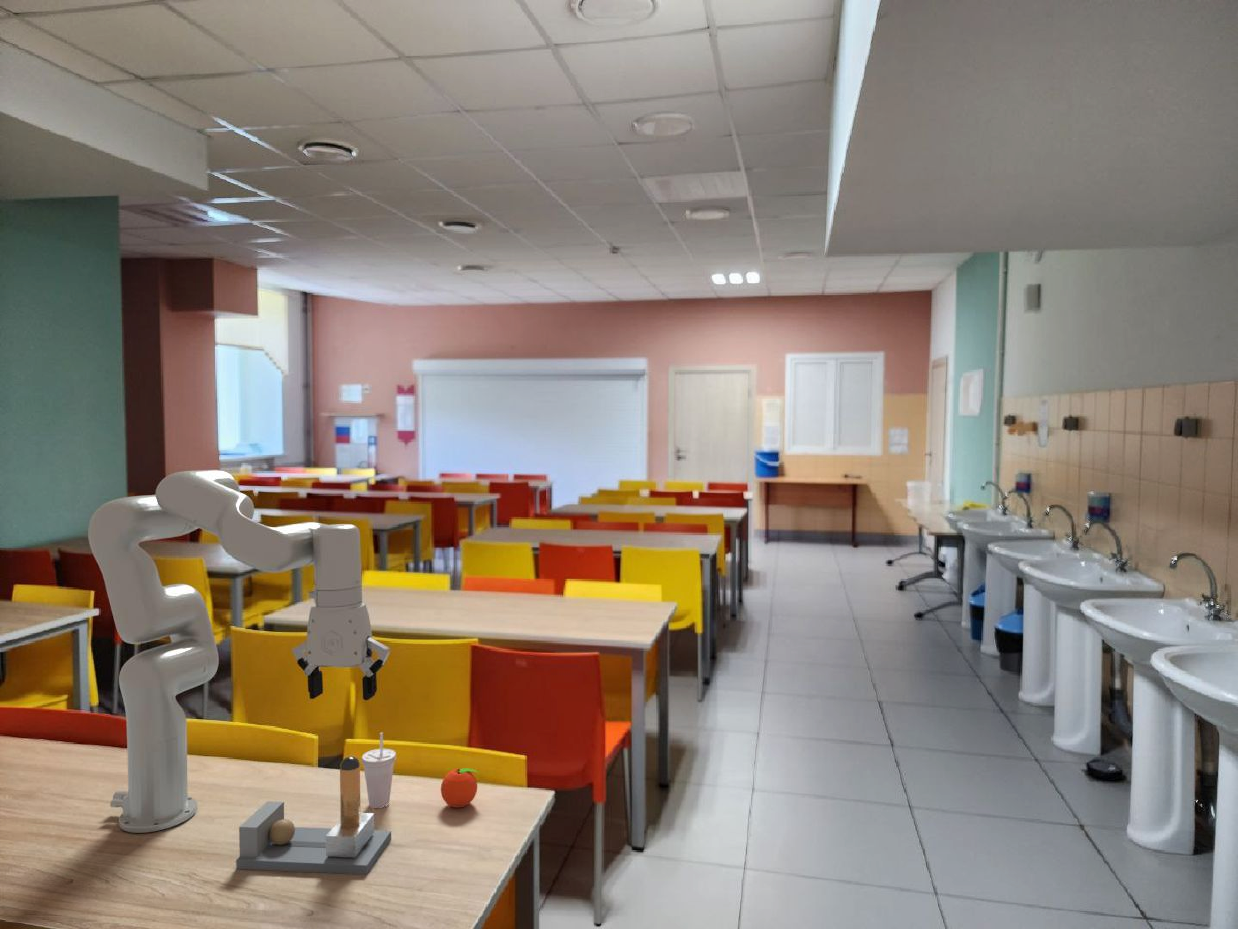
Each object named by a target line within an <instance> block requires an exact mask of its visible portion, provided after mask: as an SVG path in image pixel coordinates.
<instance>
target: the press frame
mask: <svg viewBox="0 0 1238 929" xmlns="http://www.w3.org/2000/svg"><path fill="white" fill-rule="evenodd" d="M331 829H332V828H329V827H328V828H325V827H304V826H303V827H302V826H300V827H299V826H295V825H294V823H293V821H291V820H289V819H287V818H285V802H284V801H273V800H271V801H270V800H268V801H266V802H265V803H264V804H263V805H262V806H260V807H259V808H258V809H257V810H256V811H255V812H254V813H253V814H252V815H251V816H250V817H249V818H248V819H246V820H245V821H244V822H243V823H242V824H240V826H239V827H238V833H239V834H238V835H239V836H238V837H239V838H238V840H239V844H238V845H239V857H238V858H237V859H236V860H235V862H236V864H235V865H236V866H235V868H236V869H237V870H256V871H257V870H258V871H259V870H260V871H279V872H280V871H282V872H303V873H325V874H346V875H348V874H349V875H350V874H351V875H368V874H369V872H370V871H371V869H373V867H374V865H375V863H376V862H377V860H378V859H379V857H380V856H381V855H382V853H383V852H384V850H386V849H385V848H386V847H388V844H390V842H391V840H392V831H391V830H380V829H379V830H377V829H374V833H373V835H372V836H371V837H370V839H369V840H368V841H367V843H366V844H365V845H364V847H363V848H362V849H361V851H360V852H359V853H358V855H357V856H356V857H334V856H326V835H327V834H328V833H329V832H330V830H331Z"/></svg>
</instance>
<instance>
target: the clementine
mask: <svg viewBox="0 0 1238 929" xmlns="http://www.w3.org/2000/svg"><path fill="white" fill-rule="evenodd" d="M472 772H473V773H474V772H475V773H477V774H479V776H480V777H481V779H483V778H482V776H481V774H480V772H478V771H477V770H475V769H472V768H461V767H460V768H455V769H453V770H451V771H449V772H447V774H446V775H445V777H444V778H443V780H442V782H441V784H440V794H441V797H442V800H443V801H444V802H445V804H447V805H448V806H450V807H453V808H463V807H466V806H467V805H469V804H470V803H471V802H472V801H473V800H474V799H475V798H476V795H477V792H478V781H477V779H476V776H475V775H474V774H473V773H472Z"/></svg>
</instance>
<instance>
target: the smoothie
mask: <svg viewBox="0 0 1238 929" xmlns="http://www.w3.org/2000/svg"><path fill="white" fill-rule="evenodd" d="M396 755H397V753H396V751H395V750H393V749H390V748H384V732H380V733H379V748H377V749H372V750H369V751H366V752H365V753H363V754H362V756H361V762H360V763H361V764H362V765H363V770H364V777H365V786H366V791H367V792H366V793H367V798H368V799H367V801H368V807H369V808H371V809H373V808H380V809H382V808H381V807H383V806H386V805H387V804H388V803H389V804H390V799H391V791H392V790H391V789H392V783H393V774H394V768H395V767H394V764H395V761H396V759H397V756H396ZM386 807H387V806H386Z"/></svg>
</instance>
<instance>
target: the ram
mask: <svg viewBox="0 0 1238 929" xmlns="http://www.w3.org/2000/svg"><path fill="white" fill-rule="evenodd" d="M339 796H340V797H339V798H340V799H339V803H340V806H339V807H340V808H339V809H340V814H339V815H340V819H339V820H338V821H337V822H336V823H335V825H334V826H332V828H331V830H330V832H329V833H328V834H327V835H326V856H334V857H356V856H357V855H358V853H359V852H360V851H361V849H362V848H363V847H364V845H365V844H366V843H367V841H368V840H369V839H370V837H371V836H372V835H373V833H374V830H375V813H371V812H369V813H368V812H361V762H360V760H359V759H358V758H357V757H355V756H347V757H345V758H343V760H342V761H341V763H340V764H339Z"/></svg>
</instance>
